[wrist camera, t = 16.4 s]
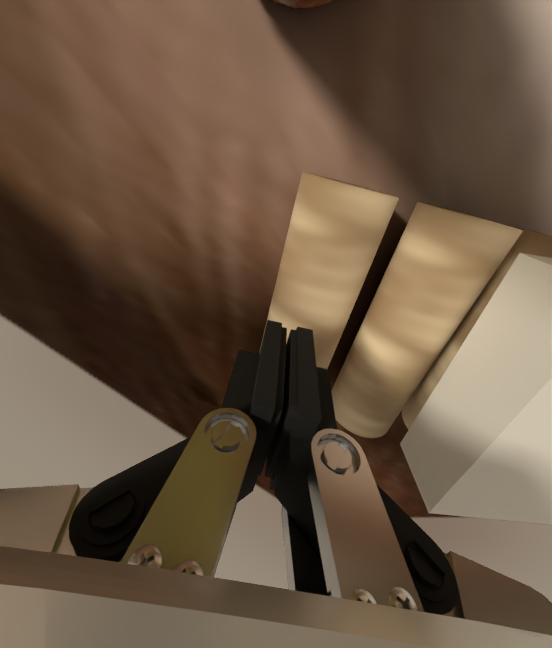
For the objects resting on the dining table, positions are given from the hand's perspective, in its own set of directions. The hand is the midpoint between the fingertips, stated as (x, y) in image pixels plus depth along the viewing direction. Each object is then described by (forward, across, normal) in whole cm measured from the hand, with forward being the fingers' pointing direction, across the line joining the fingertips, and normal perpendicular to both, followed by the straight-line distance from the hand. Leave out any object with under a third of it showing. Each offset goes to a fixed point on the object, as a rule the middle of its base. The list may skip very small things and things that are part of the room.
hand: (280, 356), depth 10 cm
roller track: (+6, -10, 0) cm, 12 cm away
